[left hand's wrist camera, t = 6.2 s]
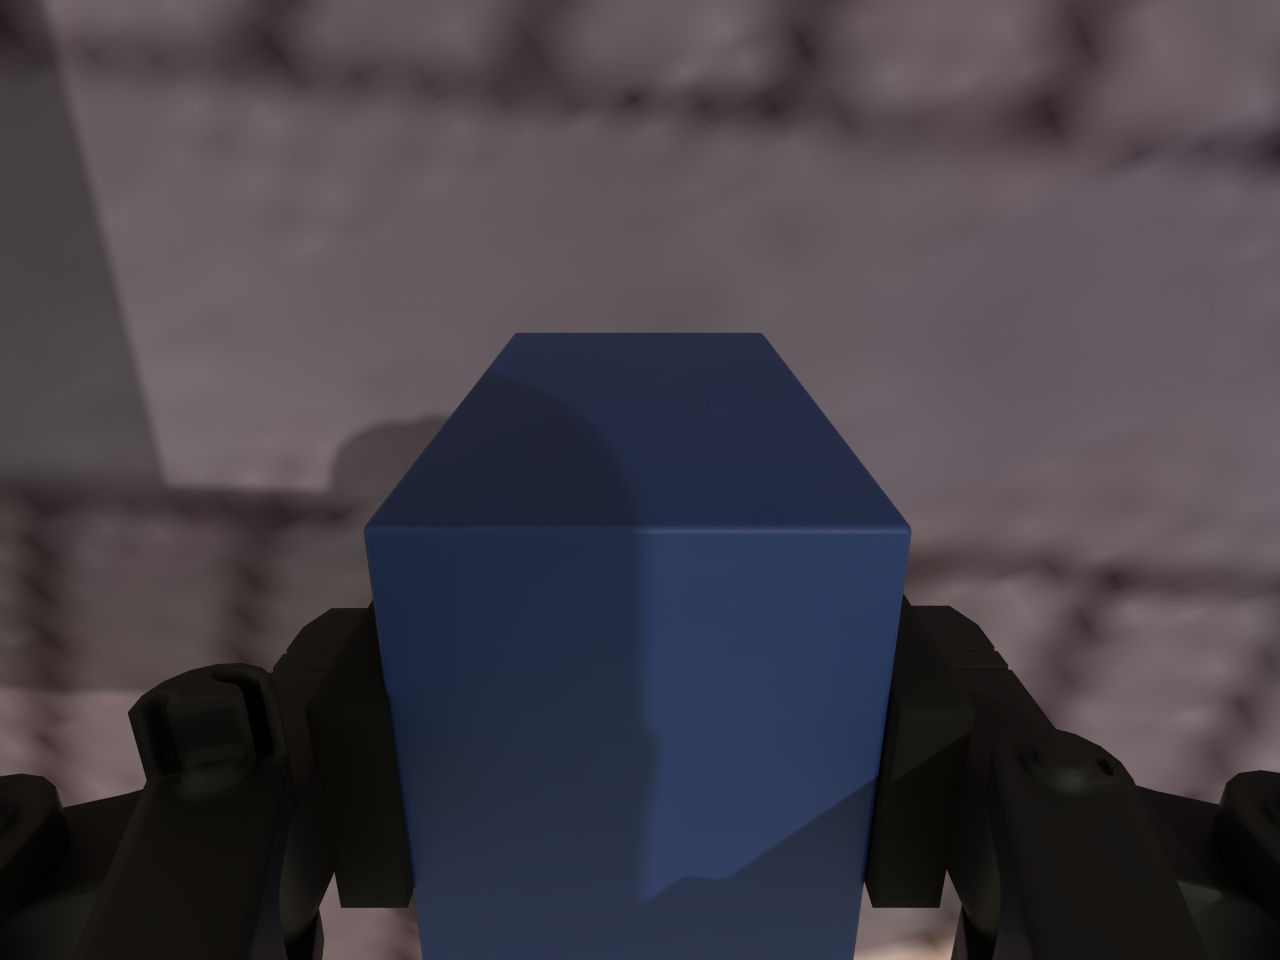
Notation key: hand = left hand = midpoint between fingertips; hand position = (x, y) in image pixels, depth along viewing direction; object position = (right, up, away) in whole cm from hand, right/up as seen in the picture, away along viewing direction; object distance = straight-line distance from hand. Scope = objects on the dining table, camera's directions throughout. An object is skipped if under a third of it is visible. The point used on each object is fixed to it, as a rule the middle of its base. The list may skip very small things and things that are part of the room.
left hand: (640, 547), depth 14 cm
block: (0, +1, +3) cm, 4 cm away
